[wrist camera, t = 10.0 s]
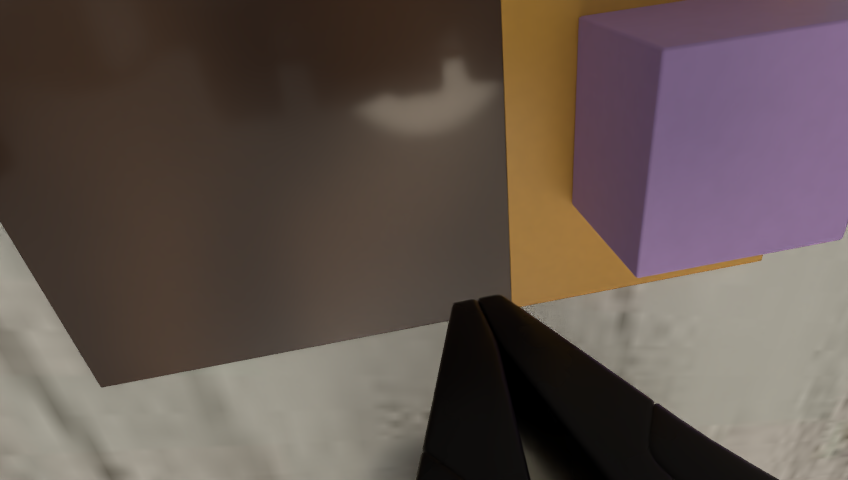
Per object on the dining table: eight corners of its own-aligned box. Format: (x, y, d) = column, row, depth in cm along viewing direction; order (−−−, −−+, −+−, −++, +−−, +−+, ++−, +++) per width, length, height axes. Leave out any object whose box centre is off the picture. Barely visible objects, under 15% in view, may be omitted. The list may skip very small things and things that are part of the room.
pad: (510, 305, 20) (511, 308, 20) (493, -148, 13) (495, -148, 13) (758, 257, 21) (761, 260, 21) (873, -196, 14) (880, -198, 14)
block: (571, 204, 18) (636, 280, 14) (577, 15, 15) (663, 48, 11) (737, 174, 19) (843, 240, 15) (777, -15, 16) (925, 7, 12)
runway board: (102, 383, 19) (100, 387, 19) (-167, -64, 12) (-174, -64, 12) (510, 305, 20) (511, 308, 20) (493, -148, 13) (495, -149, 13)
